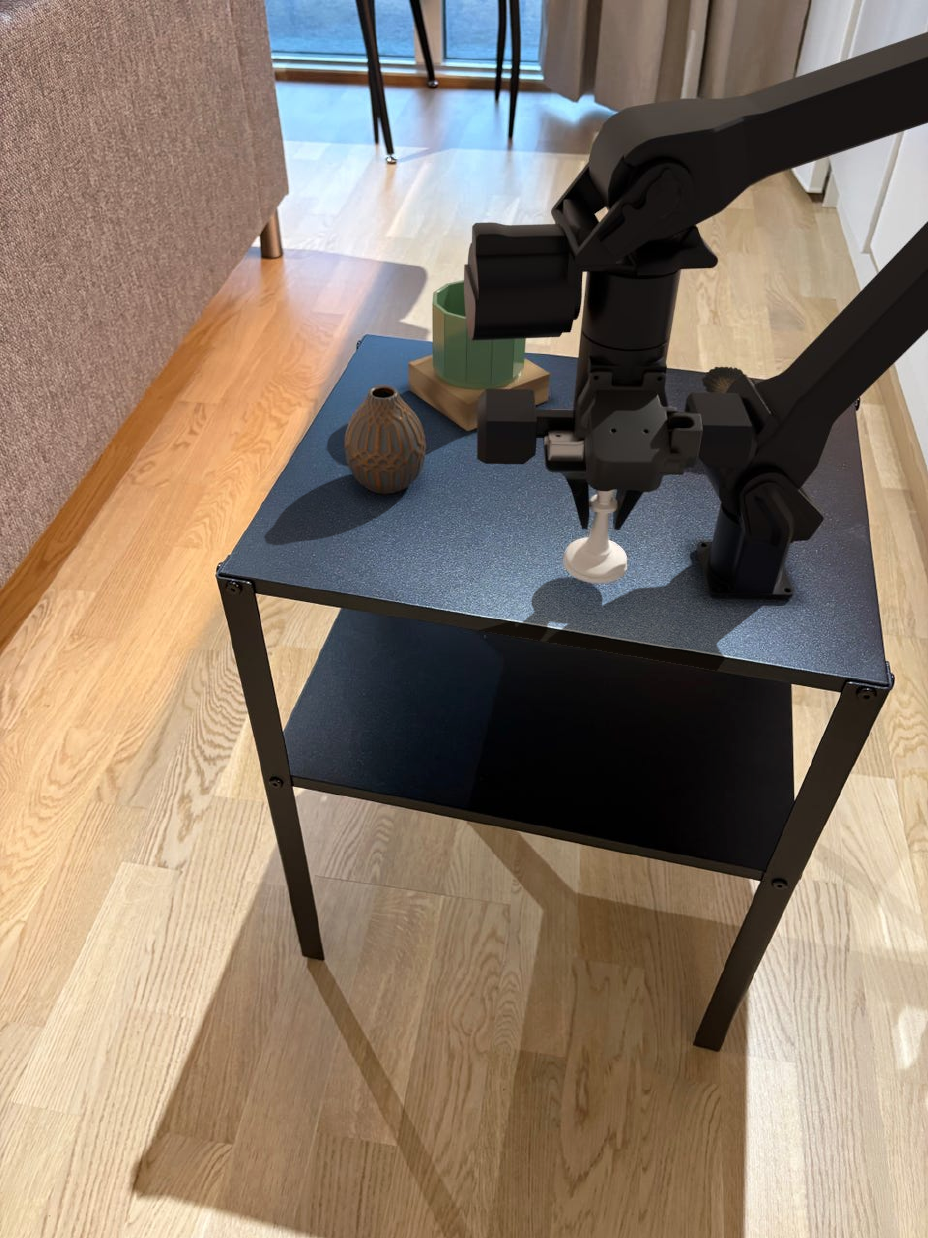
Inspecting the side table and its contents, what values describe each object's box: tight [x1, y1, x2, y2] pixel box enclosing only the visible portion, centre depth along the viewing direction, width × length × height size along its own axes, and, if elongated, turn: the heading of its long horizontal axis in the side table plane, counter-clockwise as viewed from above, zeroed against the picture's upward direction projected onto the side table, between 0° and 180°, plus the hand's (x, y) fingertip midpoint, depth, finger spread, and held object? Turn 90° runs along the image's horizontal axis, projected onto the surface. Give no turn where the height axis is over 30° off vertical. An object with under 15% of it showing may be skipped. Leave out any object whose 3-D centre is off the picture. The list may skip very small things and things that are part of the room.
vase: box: [344, 384, 427, 495], centre depth 85 cm, size 7×7×9 cm
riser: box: [407, 354, 551, 432], centre depth 99 cm, size 10×10×3 cm
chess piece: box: [562, 490, 628, 585], centre depth 74 cm, size 5×5×10 cm
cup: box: [431, 279, 527, 389], centre depth 95 cm, size 9×9×7 cm
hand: (600, 526), depth 75 cm, fingers closed on chess piece
